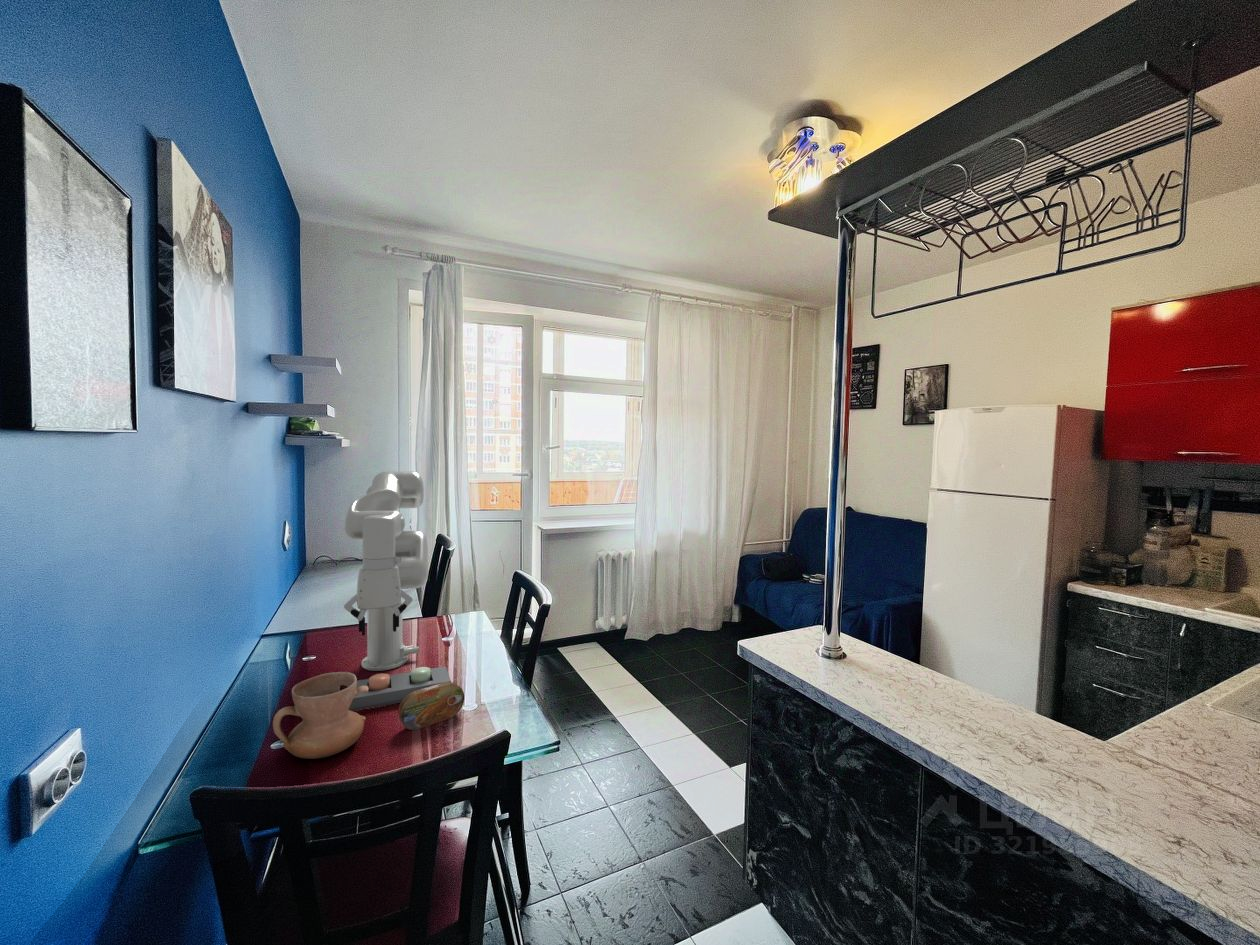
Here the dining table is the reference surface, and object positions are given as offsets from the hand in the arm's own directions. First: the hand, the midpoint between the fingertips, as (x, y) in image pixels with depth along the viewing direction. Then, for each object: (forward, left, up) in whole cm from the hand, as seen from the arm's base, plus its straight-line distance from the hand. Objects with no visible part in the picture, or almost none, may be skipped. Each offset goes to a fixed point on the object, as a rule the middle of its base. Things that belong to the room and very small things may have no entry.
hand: (379, 631), depth 133 cm
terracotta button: (0, 0, -15) cm, 15 cm away
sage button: (-10, 0, -15) cm, 18 cm away
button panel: (-5, 0, -18) cm, 18 cm away
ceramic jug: (+11, +18, -18) cm, 28 cm away
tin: (-11, +17, -18) cm, 27 cm away
